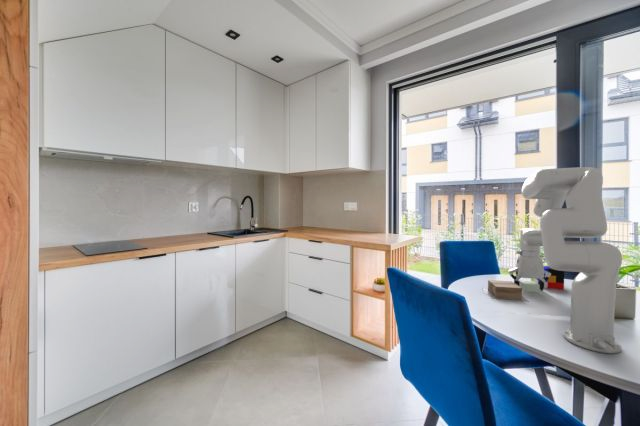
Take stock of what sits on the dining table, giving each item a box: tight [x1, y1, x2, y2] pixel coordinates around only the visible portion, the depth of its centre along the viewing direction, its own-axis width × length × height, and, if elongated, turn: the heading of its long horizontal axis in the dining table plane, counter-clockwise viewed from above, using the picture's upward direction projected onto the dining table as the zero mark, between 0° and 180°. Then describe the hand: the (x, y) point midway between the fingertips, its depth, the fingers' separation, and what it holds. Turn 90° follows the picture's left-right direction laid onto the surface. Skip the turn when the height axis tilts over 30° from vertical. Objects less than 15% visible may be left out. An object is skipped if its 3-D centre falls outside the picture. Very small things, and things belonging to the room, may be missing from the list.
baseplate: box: [482, 288, 530, 303], centre depth 123 cm, size 14×14×1 cm
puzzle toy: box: [530, 264, 565, 291], centre depth 138 cm, size 10×10×10 cm
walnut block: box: [487, 279, 523, 300], centre depth 122 cm, size 10×10×5 cm
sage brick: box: [519, 279, 541, 294], centre depth 128 cm, size 6×6×5 cm
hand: (528, 289), depth 129 cm, fingers open, 9 cm apart
